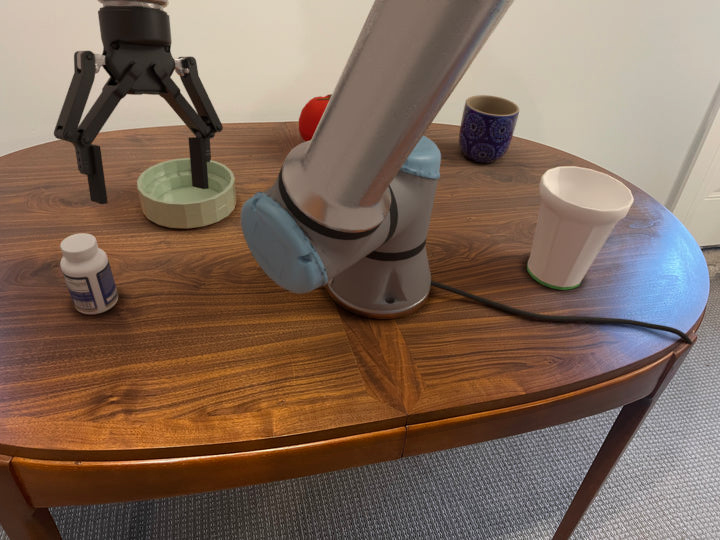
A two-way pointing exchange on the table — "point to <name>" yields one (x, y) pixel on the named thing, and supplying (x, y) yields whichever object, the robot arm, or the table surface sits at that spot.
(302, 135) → the tomato
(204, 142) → the robot arm
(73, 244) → the pill bottle
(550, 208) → the cup
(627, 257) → the table surface
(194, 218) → the bowl
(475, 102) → the planter
